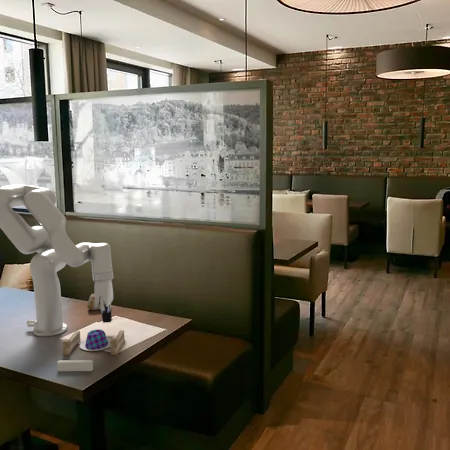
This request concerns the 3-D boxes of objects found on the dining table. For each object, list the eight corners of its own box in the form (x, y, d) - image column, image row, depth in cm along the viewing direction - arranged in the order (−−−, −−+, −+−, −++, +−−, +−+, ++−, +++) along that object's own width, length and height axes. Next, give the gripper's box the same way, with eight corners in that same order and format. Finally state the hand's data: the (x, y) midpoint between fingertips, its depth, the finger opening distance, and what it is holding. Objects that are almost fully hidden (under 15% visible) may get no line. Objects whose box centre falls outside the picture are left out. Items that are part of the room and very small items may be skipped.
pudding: (99, 336, 183) (98, 323, 182) (120, 344, 176) (119, 330, 175) (72, 347, 174) (71, 333, 173) (94, 355, 167) (93, 341, 166)
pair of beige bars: (63, 355, 167) (62, 341, 166) (75, 339, 180) (74, 326, 179) (116, 354, 166) (116, 341, 166) (125, 339, 180) (124, 326, 179)
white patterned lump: (110, 312, 210) (97, 294, 207) (93, 320, 213) (79, 302, 210) (116, 303, 216) (103, 285, 213) (99, 310, 219) (86, 293, 216)
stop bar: (57, 371, 155) (57, 362, 154) (59, 369, 156) (58, 360, 156) (91, 371, 155) (91, 362, 154) (93, 368, 156) (92, 360, 156)
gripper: (98, 271, 190) (102, 315, 193) (87, 281, 176) (92, 329, 179) (117, 270, 190) (121, 314, 193) (107, 280, 176) (112, 328, 179)
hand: (107, 321), depth 186 cm, fingers closed
